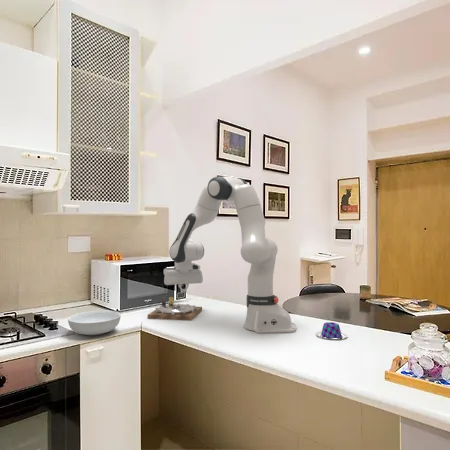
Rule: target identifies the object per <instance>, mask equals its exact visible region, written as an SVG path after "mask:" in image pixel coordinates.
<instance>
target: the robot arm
mask: <svg viewBox="0 0 450 450" xmlns="http://www.w3.org/2000/svg"><path fill="white" fill-rule="evenodd" d="M223 201H228V202H229V201H230V202H231V201H232V202H233V203H234V206H235V209H236V214H237V217H238V221H239V226H240V232H241V248H240V255H241V258H242V260H244V261H245V262H246V263H249V264H250V270H249V272H248V275H247V294H246V310H247V311H246V317H245V323H244V325H243V328H245V330H248V331H252V332H255V333H256V334H257V333H258V334H269V333H270V334H271V333H272V334H273V333H275V334H277V333H280V334H281V333H294V332H296V331H297V325H296V323H294V322H292V317H291V315H290V313H289V311H287V310H286V309H284V307H282V306H281V305H280V304H278V303H279V297H278V296H276V295H274V273H275V267H276V266H275V265H276V258H277V254H278V251H279V249H278V246H277V243H276V242H275V241H273V240H272V239H271V238H268V237H266V229H265V226H266V219H265V217H264V213H263V208H262V205H261V201H260V198H259V196H258V193H257V192H256V189H255V187H254V186H253V185H251V184H249V183H247V181H245V179H242V178H240V177H231V176H226V175H225V176H222V175H221V176H220V175H219V176H215V177H212V178H211V179H210V180H209V181H208V183H207V184H205V185H204V187H203V189H202V191H201V192H200V195H199V197H198V200H197V203H196V206H195V207H194V208H193V210H192V211H191V213H189V214H188V215H187V216H186V218H185V219H184V221H183V223H182V225H181V228H180V230H179V232H178V234H177V237H175V240H174V241H173V243H172V245H171V246H170V248H169V252H168V253H169V257H170V259H171V260H172V261H173V262H174V266H169V267H168V266H166V267H165V268H163V275H164V278H163V283H164V285H165V286H173V285H175V286H176V285H178V288H179V289H180V293H182V294H184V293H186V294H187V293H188V292H187V291H188V288H189V285H191V284H193V285H194V284H203V281H204V279H203V272H202V270H201V265H199V264H196V263H193V261H199V260H202V259H203V257H204V255H205V248H204V246H203V244H202V242H198V241H195V240H194V239H192V238H191V235H192V234H193V233H194V231H195V230H196V229H197V228H199V227H202V226H204V225H208V224H210V223H212V222H213V221H215V219H217V216H218V214H219V211H220V208H221V206H222V205H221V204H222V203H223ZM183 285H185V287H184V288H183V287H182V286H183Z"/></svg>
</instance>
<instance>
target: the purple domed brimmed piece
mask: <svg viewBox="0 0 450 450" xmlns="http://www.w3.org/2000/svg"><path fill="white" fill-rule="evenodd" d="M319 334H321V335H322V336H321V337H320V336H319ZM341 334H343V335H344V336H345V337H344V338H342V339H341V340H343V339H346V338H348V335H347V334H346V333H344V332H342V330H341V328H340V324H339V323H336V322H331V321H328V322H324V323H323V326H322V330H321V331H318V332H316V333H315V335H316V336H317V337H319V338H322V337H323V338H324V337H326V338H324V339H326V340H328V338H338V339H340V338H341V336H342V335H341ZM323 338H322V339H323Z"/></svg>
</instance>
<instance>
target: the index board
mask: <svg viewBox="0 0 450 450" xmlns="http://www.w3.org/2000/svg"><path fill="white" fill-rule="evenodd" d="M166 298H167V297H166V296H162V297H161V306H165V305H167V303H166V302H167V301H166V300H167V299H166ZM196 307H197V310H194V312H189V313H185V314H174V315H172V314H162V313H160V312H158V313H157V312H156V309H155V310H153V311H151V312H149V313H148V314H147V319H148V320H149V319H150V320H168V321H169V320H171V321H193V320H194V319H195V318H196V317H197V316H198V315H199V314H200V313H201V312H202V311H203V306H196Z"/></svg>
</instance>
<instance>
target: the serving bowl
mask: <svg viewBox="0 0 450 450" xmlns="http://www.w3.org/2000/svg"><path fill="white" fill-rule="evenodd" d="M120 320H121V313H120V312H118V311H114V310H90V311H83V312H79V313H75V314H73V315H70V316H69V317H68V318H67V321H68V326H69V328H70V329H71V330H72V331H73V332H75V333H76V334H80V335H84V336H85V335H86V336H99V335H102V334H105V333H106V334H107V333H108V332H111V331H113V330H114V329H115V328H116V327H117V326H118V325H119V323H120Z"/></svg>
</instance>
